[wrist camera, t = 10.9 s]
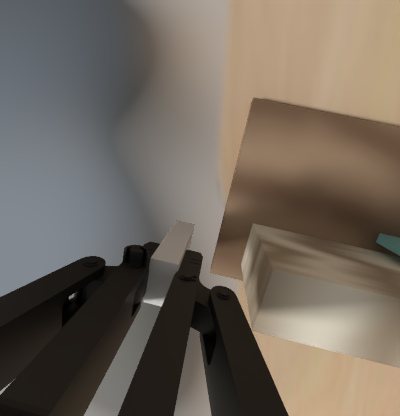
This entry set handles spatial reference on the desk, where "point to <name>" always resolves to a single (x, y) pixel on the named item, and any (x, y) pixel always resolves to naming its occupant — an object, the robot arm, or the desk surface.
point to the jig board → (311, 181)
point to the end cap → (389, 243)
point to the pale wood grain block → (323, 294)
